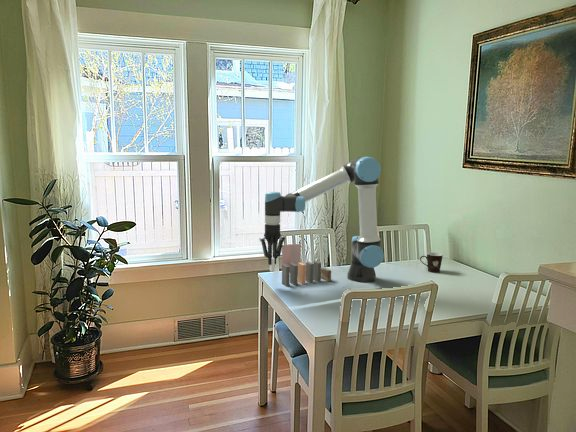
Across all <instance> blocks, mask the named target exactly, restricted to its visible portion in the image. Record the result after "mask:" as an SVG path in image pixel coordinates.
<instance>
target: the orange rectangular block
mask: <svg viewBox="0 0 576 432" xmlns="http://www.w3.org/2000/svg"><path fill="white" fill-rule="evenodd" d="M297 283H299V284H300V285H305V284H306V263H303V262H300V263H298V282H297Z"/></svg>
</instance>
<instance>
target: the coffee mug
mask: <svg viewBox="0 0 576 432" xmlns="http://www.w3.org/2000/svg"><path fill="white" fill-rule="evenodd" d="M443 256H444V254H443V253H439V252H427V253H426V255H422V256H420V257H419V261H420V263H422V264H423V265H424V266H426V267H427V271H428V273H429V272H430V273H434V274H435V273H437V274H438V273H440V272H441V266H442V261H443ZM422 258H426V262H427V263H425V262H424V261H423V260H422Z"/></svg>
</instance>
